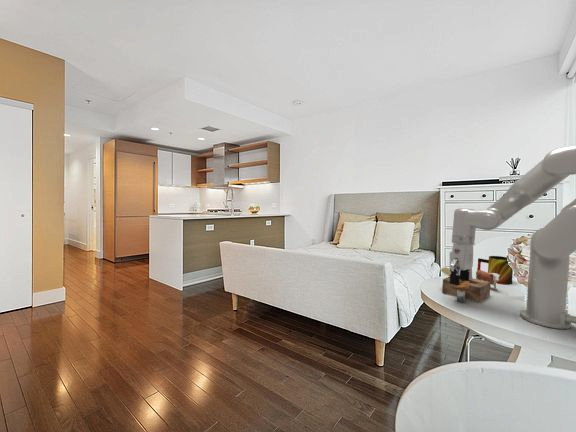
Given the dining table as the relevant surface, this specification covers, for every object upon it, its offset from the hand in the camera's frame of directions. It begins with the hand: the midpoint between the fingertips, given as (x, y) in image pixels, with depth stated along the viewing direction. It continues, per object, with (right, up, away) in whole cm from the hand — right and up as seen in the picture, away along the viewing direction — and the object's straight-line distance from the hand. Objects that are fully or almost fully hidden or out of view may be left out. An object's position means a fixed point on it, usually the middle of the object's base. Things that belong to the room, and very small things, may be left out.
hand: (459, 282), depth 108 cm
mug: (+35, -6, +28) cm, 46 cm away
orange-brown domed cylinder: (+1, -8, 0) cm, 8 cm away
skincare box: (+17, -6, +27) cm, 33 cm away
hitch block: (+8, -7, +8) cm, 14 cm away
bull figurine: (+24, -7, +17) cm, 30 cm away
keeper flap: (+4, 0, +13) cm, 14 cm away
